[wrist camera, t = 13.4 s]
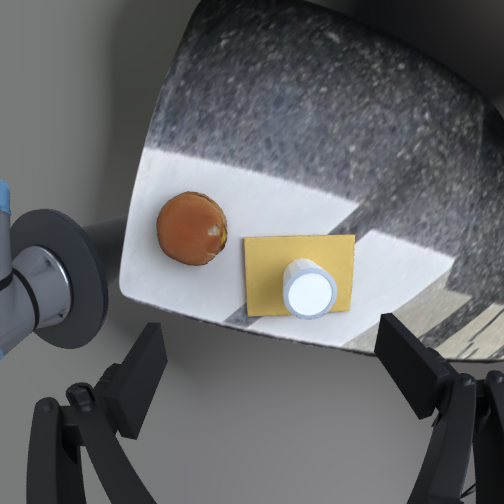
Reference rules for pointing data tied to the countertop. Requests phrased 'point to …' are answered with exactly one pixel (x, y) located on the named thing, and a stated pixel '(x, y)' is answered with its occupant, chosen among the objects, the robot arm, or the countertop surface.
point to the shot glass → (308, 289)
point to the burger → (191, 228)
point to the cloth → (283, 253)
